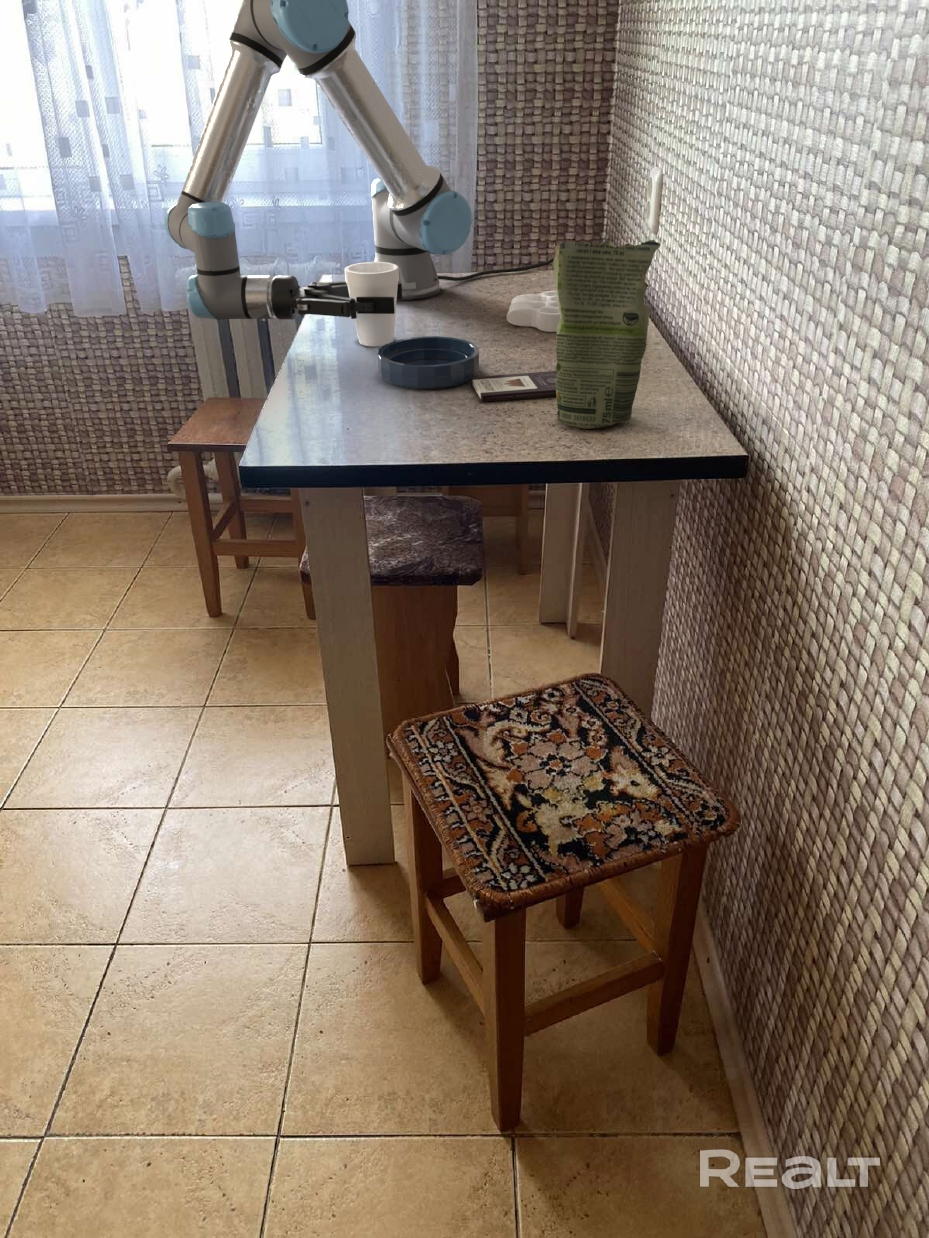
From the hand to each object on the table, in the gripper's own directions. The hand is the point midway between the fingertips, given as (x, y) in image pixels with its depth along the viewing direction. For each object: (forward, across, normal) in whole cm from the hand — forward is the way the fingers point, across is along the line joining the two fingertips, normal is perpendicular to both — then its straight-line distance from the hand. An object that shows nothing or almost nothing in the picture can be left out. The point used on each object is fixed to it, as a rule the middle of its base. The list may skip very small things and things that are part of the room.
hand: (397, 298), depth 169 cm
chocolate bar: (+25, +25, -8) cm, 36 cm away
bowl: (+7, +19, -8) cm, 22 cm away
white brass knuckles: (+27, -16, -8) cm, 32 cm away
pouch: (+34, +38, -8) cm, 52 cm away
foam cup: (-4, 0, -8) cm, 9 cm away
